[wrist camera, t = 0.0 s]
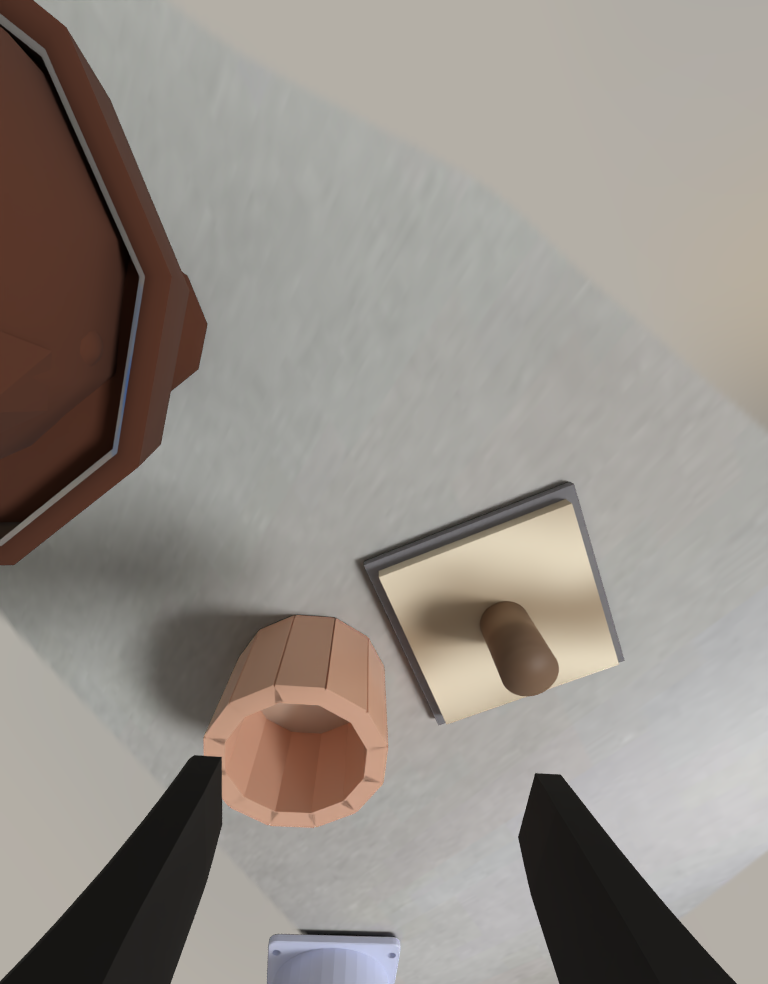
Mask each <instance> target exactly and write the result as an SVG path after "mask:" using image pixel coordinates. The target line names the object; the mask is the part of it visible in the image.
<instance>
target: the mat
mask: <svg viewBox="0 0 768 984" xmlns="http://www.w3.org/2000/svg"><path fill="white" fill-rule="evenodd" d="M564 499H567V500H568V501H569V502H571V503H572V505H573V508H574V511H575V515H576V518H577V522H578V525H579V529H580V532H581V535H582V539H583V542H584V546H585V549H586V553H587V556H588V560H589V563H590V566H591V570H592V573H593V577H594V580H595V584H596V587H597V590H598V594H599V597H600V601H601V604H602V608H603V611H604V614H605V618H606V621H607V625H608V628H609V632H610V635H611V638H612V642H613V645H614V649H615V652H616V656H617V659H618V663H619V662H622V661H624V657H623V654H622V650H621V647H620V643H619V640H618V636H617V633H616V629H615V626H614V622H613V619H612V615H611V612H610V608H609V605H608V601H607V598H606V594H605V591H604V587H603V584H602V580H601V577H600V573H599V570H598V566H597V563H596V559H595V556H594V552H593V549H592V545H591V542H590V538H589V535H588V531H587V528H586V524H585V521H584V517H583V514H582V510H581V507H580V503H579V500H578V496H577V493H576V489H575V486H574V484H573V483H571V482H568V483H565V484H562V485H560V486H557V487H555V488H552V489H550V490H547V491H544V492H542V493H539V494H537V495H534V496H532V497H529V498H526V499H524V500H521V501H519V502H516V503H513V504H511V505H508V506H506V507H503V508H501V509H498V510H495V511H493V512H490V513H488V514H485V515H482V516H480V517H477V518H475V519H472V520H470V521H467V522H464V523H462V524H459V525H457V526H454V527H451V528H449V529H446V530H444V531H441V532H439V533H436V534H433V535H431V536H428V537H426V538H423V539H421V540H418V541H415V542H413V543H410V544H408V545H405V546H402V547H400V548H397V549H395V550H392V551H390V552H387V553H384V554H382V555H379V556H377V557H374V558H371V559H369V560H366V561H364V567H365V569H366V571H367V573H368V576H369V578H370V580H371V582H372V584H373V586H374V588H375V590H376V593H377V595H378V597H379V599H380V601H381V603H382V605H383V608H384V610H385V612H386V614H387V616H388V618H389V620H390V623H391V625H392V627H393V629H394V631H395V633H396V635H397V637H398V640H399V642H400V644H401V646H402V648H403V650H404V652H405V655H406V657H407V659H408V661H409V663H410V665H411V667H412V670H413V672H414V674H415V676H416V678H417V680H418V682H419V684H420V687H421V689H422V691H423V693H424V695H425V697H426V699H427V702H428V704H429V706H430V708H431V710H432V712H433V714H434V717H435V719H436V721H437V723H438V725H441V724H444V723H446V722H445V720H444V718H443V715H442V713H441V711H440V709H439V707H438V705H437V702H436V700H435V698H434V696H433V694H432V692H431V689H430V687H429V685H428V683H427V681H426V679H425V676H424V674H423V672H422V670H421V668H420V665H419V663H418V661H417V659H416V657H415V655H414V652H413V650H412V648H411V646H410V644H409V642H408V639H407V637H406V635H405V633H404V631H403V629H402V626H401V624H400V622H399V620H398V618H397V616H396V613H395V611H394V609H393V607H392V605H391V603H390V600H389V598H388V596H387V594H386V592H385V590H384V587H383V585H382V583H381V581H380V579H379V571H380V570H382V569H385V568H388V567H390V566H393V565H395V564H398V563H401V562H403V561H406V560H408V559H411V558H414V557H416V556H419V555H421V554H424V553H427V552H429V551H432V550H434V549H437V548H440V547H442V546H445V545H447V544H450V543H453V542H455V541H458V540H460V539H463V538H466V537H468V536H471V535H473V534H476V533H479V532H481V531H484V530H486V529H489V528H492V527H494V526H497V525H499V524H502V523H505V522H507V521H510V520H512V519H515V518H518V517H520V516H523V515H525V514H528V513H531V512H533V511H536V510H538V509H541V508H544V507H546V506H549V505H551V504H554V503H557V502H559V501H562V500H564Z"/></svg>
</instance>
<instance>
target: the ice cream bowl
mask: <svg viewBox="0 0 768 984" xmlns="http://www.w3.org/2000/svg"><path fill="white" fill-rule="evenodd" d="M206 329H207V322H206V319H205V317H204V315H203V312H202V310H201V307H200V305H199V302H198V300H197V298H196V295H195V293H194V290H193V288H192V285H191V283H190V281H189V278H188V276H187V275H186V274H184V273H183V272H182V271H181V269H180V266H179V264H178V262H177V259H176V257H175V254H174V252H173V249H172V247H171V245H170V242H169V240H168V237H167V235H166V233H165V230H164V228H163V225H162V223H161V221H160V218H159V216H158V213H157V211H156V209H155V206H154V204H153V201H152V199H151V197H150V194H149V192H148V189H147V187H146V184H145V182H144V180H143V177H142V175H141V172H140V170H139V168H138V165H137V163H136V160H135V158H134V156H133V153H132V151H131V148H130V146H129V144H128V141H127V139H126V136H125V134H124V132H123V129H122V127H121V124H120V122H119V119H118V117H117V115H116V112H115V110H114V107H113V105H112V103H111V100H110V98H109V97H108V95H107V93H106V92H105V90H104V88H103V87H102V85H101V83H100V82H99V80H98V79H97V77H96V75H95V74H94V72H93V70H92V69H91V67H90V65H89V64H88V62H87V60H86V59H85V57H84V56H83V54H82V52H81V51H80V49H79V47H78V46H77V44H76V42H75V41H74V39H73V37H72V36H71V34H70V33H69V31H68V29H67V28H66V27H65V26H64V25H63V24H62V23H60V22H59V21H58V20H57V19H56V18H54V17H53V16H52V15H51V14H49V13H48V12H47V11H46V10H44V9H43V8H42V7H41V6H39V5H38V4H37V3H36V2H35V1H33V0H0V565H15V564H16V563H17V562H18V561H20V560H21V559H22V558H23V557H25V556H26V555H27V554H29V553H30V552H31V551H32V550H34V549H35V548H36V547H37V546H39V545H40V544H41V543H42V542H44V541H45V540H46V539H48V538H49V537H50V536H51V535H53V534H54V533H55V532H56V531H58V530H59V529H60V528H61V527H63V526H64V525H65V524H67V523H68V522H69V521H70V520H72V519H73V518H74V517H75V516H77V515H78V514H79V513H81V512H82V511H83V510H84V509H86V508H87V507H88V506H89V505H91V504H92V503H93V502H94V501H96V500H97V499H98V498H100V497H101V496H102V495H103V494H105V493H106V492H107V491H108V490H110V489H111V488H112V487H113V486H115V485H116V484H117V483H119V482H120V481H121V480H122V479H124V478H125V477H126V476H127V475H129V474H130V473H131V472H133V471H134V470H135V469H136V468H138V467H139V466H140V465H141V464H142V463H143V462H144V461H145V460H146V459H147V458H148V457H149V456H150V455H151V454H152V453H153V452H154V451H155V450H156V449H157V448H158V447H159V446H160V445H161V441H162V435H163V430H164V425H165V419H166V414H167V409H168V403H169V398H170V392H171V391H172V390H173V389H174V388H176V387H177V386H178V385H179V384H181V383H182V382H183V381H184V380H186V379H187V378H188V377H189V376H190V375H192V374H193V373H194V372H195V371H197V370H198V368H199V363H200V358H201V353H202V348H203V344H204V339H205V334H206Z"/></svg>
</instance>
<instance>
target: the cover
mask: <svg viewBox="0 0 768 984" xmlns="http://www.w3.org/2000/svg"><path fill="white" fill-rule="evenodd" d="M379 579H380V581H381V583H382V585H383V587H384V590H385V592H386V594H387V596H388V598H389V600H390V603H391V605H392V607H393V609H394V611H395V613H396V616H397V618H398V620H399V622H400V624H401V626H402V629H403V631H404V633H405V635H406V637H407V639H408V642H409V644H410V646H411V648H412V650H413V652H414V655H415V657H416V659H417V661H418V663H419V665H420V668H421V670H422V672H423V674H424V676H425V679H426V681H427V683H428V685H429V687H430V689H431V692H432V694H433V696H434V698H435V700H436V702H437V705H438V707H439V709H440V711H441V713H442V715H443V718H444V720H445V722H446V724H449V723H452V722H455V721H458V720H461V719H464V718H467V717H470V716H472V715H475V714H478V713H481V712H484V711H487V710H490V709H493V708H495V707H498V706H501V705H504V704H507V703H510V702H513V701H516V700H518V699H521V698H524V697H527V696H534V695H538V694H540V693H542V692H544V691H546V690H547V689H550V688H553V687H556V686H559V685H562V684H564V683H567V682H570V681H573V680H576V679H579V678H582V677H585V676H587V675H590V674H593V673H596V672H599V671H602V670H605V669H608V668H610V667H613V666H616V665H619V663H618V659H617V656H616V652H615V649H614V645H613V642H612V638H611V635H610V632H609V628H608V625H607V621H606V618H605V614H604V611H603V608H602V604H601V601H600V597H599V594H598V590H597V587H596V584H595V580H594V577H593V573H592V570H591V566H590V563H589V560H588V556H587V553H586V549H585V546H584V542H583V539H582V535H581V532H580V529H579V525H578V522H577V518H576V515H575V511H574V508H573V505H572V503H571V502H569V501H568V500H567V499H564V500H562V501H559V502H557V503H554V504H551V505H549V506H546V507H544V508H541V509H538V510H536V511H533V512H531V513H528V514H525V515H523V516H520V517H518V518H515V519H512V520H510V521H507V522H505V523H502V524H499V525H497V526H494V527H492V528H489V529H486V530H484V531H481V532H479V533H476V534H473V535H471V536H468V537H466V538H463V539H460V540H458V541H455V542H453V543H450V544H447V545H445V546H442V547H440V548H437V549H434V550H432V551H429V552H427V553H424V554H421V555H419V556H416V557H414V558H411V559H408V560H406V561H403V562H401V563H398V564H395V565H393V566H390V567H388V568H385V569H382V570H380V571H379Z"/></svg>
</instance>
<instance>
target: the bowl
mask: <svg viewBox="0 0 768 984" xmlns="http://www.w3.org/2000/svg"><path fill="white" fill-rule="evenodd" d="M334 619H335V618H332V617H318V616H304V615H296V616H294V615H293V616H291V617H289V618H286V619H284V620H281V621H279V622H277V623H274V624H272V625H270V626H267V627H265V628H262V629H260V630H259V631H258V632H257V633H256V635H255V636H254V638H253V639H252V640H251V642H250V643H249V644H248V646H247V647H246V648H245V650H244V651H243V653H242V654H241V655H240V657H239V658H238V661H237V663H236V665H235V667H234V670H233V672H232V674H231V676H230V679H229V681H228V683H227V685H226V688H225V690H224V692H223V694H222V697H221V699H220V701H219V703H218V706H217V708H216V710H215V712H214V715H213V717H212V719H211V721H210V724H209V726H208V728H207V730H206V733H205V735H204V756H216V757H222V799H223V800H224V801H225V803H226V804H227V805H228V806H230V808H232V809H234V810H236V811H239V812H241V813H243V814H245V815H247V816H249V817H251V818H254V819H256V820H258V821H260V822H262V823H264V824H266V825H269V824H270V826H285V827H310V828H314V827H319V826H321V825H324V824H327V823H330V822H332V821H335V820H338V819H340V818H343V817H346V816H349V815H351V814H354V813H356V812H358V810H359V809H360V808H361V807H362V806H363V805H364V804H365V803H366V802H367V801H368V800H369V799H370V797H371V796H372V795H373V794H374V793H375V792H376V791H377V790H378V789H379V788H380V787H381V786H382V784H383V783H384V775H385V768H386V760H387V752H388V733H387V712H386V691H385V670H384V665H383V664H382V662H381V660H380V658H379V656H378V654H377V652H376V651H375V649H374V647H373V645H372V643H371V641H370V639H369V638H368V637H367V636H365V635H364V634H362V633H360V632H359V631H357V630H355V629H354V628H352V627H350V626H348V625H347V624H345V623H343V622H342V621H340V620H338V619H337V618H336V619H335V620H334Z"/></svg>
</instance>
